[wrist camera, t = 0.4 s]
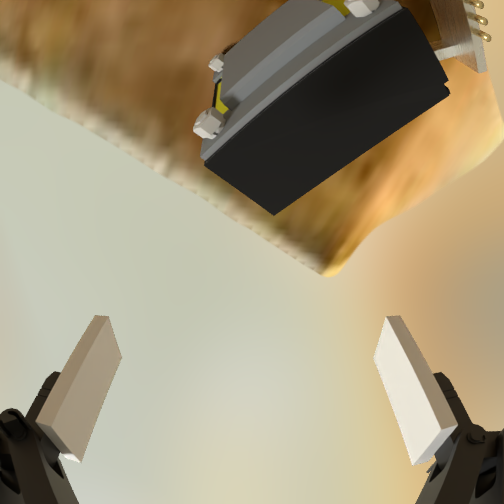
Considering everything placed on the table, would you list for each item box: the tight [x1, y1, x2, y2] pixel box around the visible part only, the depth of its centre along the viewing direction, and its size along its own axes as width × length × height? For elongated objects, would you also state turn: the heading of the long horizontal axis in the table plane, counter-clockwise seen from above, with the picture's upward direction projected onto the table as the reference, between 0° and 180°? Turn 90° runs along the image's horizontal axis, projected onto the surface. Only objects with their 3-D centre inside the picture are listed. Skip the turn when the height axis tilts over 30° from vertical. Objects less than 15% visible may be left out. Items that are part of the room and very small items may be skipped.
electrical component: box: [193, 0, 450, 216], centre depth 25 cm, size 18×10×20 cm, turn 135°
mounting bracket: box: [429, 0, 491, 73], centre depth 22 cm, size 17×12×10 cm
